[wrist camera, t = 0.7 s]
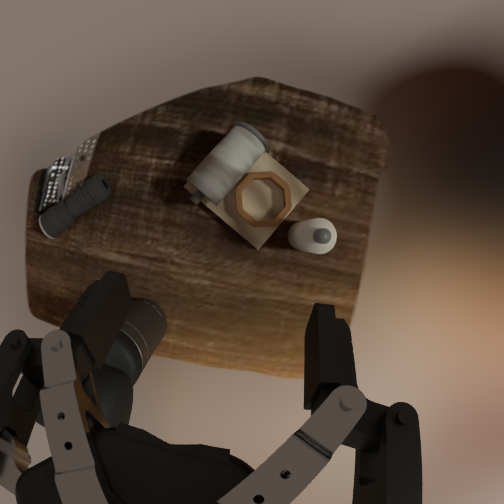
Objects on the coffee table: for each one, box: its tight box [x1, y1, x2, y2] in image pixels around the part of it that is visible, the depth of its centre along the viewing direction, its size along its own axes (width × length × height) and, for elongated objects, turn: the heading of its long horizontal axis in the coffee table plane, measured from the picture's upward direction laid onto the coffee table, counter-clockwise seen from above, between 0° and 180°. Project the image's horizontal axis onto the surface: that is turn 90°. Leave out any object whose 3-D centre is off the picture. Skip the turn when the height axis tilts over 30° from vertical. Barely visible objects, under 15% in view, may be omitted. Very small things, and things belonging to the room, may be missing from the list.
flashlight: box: [39, 174, 111, 239], centre depth 46 cm, size 15×5×5 cm, turn 119°
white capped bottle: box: [287, 218, 337, 254], centre depth 46 cm, size 5×5×13 cm
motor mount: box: [184, 122, 309, 250], centre depth 47 cm, size 15×17×8 cm
